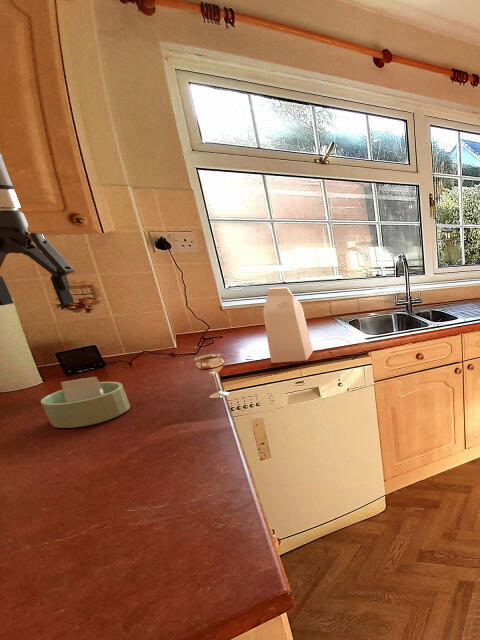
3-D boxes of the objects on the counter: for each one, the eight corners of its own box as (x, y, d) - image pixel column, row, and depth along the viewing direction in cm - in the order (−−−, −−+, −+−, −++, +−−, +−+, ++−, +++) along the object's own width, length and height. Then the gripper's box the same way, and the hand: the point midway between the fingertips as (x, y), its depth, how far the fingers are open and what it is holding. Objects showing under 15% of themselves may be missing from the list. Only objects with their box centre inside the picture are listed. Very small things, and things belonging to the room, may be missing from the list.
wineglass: (234, 389, 131) (224, 352, 127) (228, 397, 125) (217, 359, 121) (209, 392, 129) (198, 354, 125) (202, 400, 123) (190, 361, 119)
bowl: (34, 431, 106) (22, 406, 103) (86, 405, 120) (76, 382, 118) (100, 428, 107) (90, 403, 105) (144, 403, 122) (136, 380, 119)
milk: (313, 351, 167) (300, 285, 158) (306, 360, 157) (292, 289, 147) (280, 353, 165) (265, 286, 156) (271, 362, 155) (254, 291, 145)
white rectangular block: (108, 413, 114) (95, 378, 110) (74, 420, 110) (59, 384, 107) (110, 408, 117) (97, 374, 113) (77, 415, 113) (62, 380, 109)
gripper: (72, 210, 100) (104, 300, 108) (-45, 210, 98) (-3, 301, 105) (42, 210, 93) (79, 306, 101) (-84, 209, 91) (-37, 307, 99)
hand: (37, 304), depth 103 cm, fingers open, 13 cm apart
